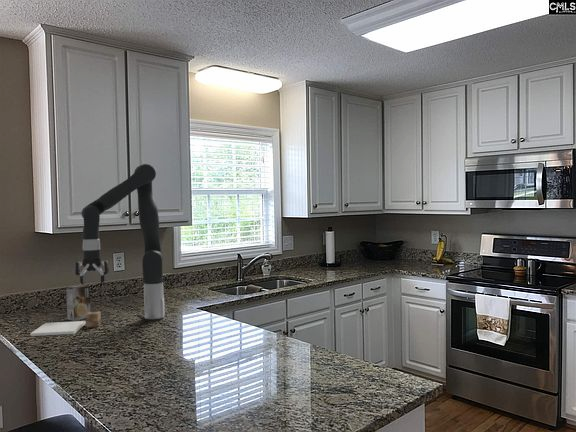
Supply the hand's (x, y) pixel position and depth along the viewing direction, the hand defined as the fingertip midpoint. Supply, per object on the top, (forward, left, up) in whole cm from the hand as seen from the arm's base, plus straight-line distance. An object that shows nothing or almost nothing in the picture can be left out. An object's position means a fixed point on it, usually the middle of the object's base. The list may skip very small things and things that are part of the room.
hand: (92, 283), depth 222 cm
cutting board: (+14, +4, -20) cm, 24 cm away
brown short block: (0, 0, -20) cm, 20 cm away
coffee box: (+11, -16, -20) cm, 28 cm away
